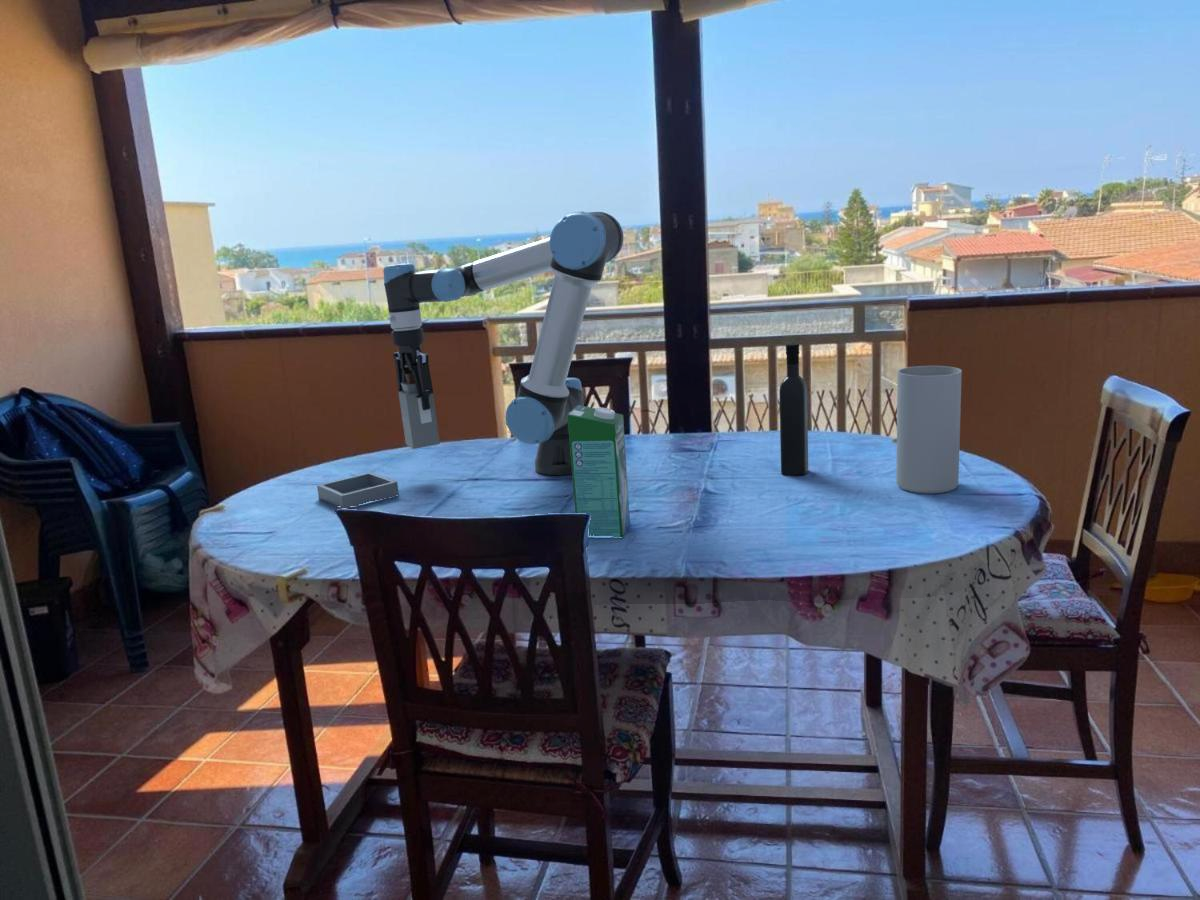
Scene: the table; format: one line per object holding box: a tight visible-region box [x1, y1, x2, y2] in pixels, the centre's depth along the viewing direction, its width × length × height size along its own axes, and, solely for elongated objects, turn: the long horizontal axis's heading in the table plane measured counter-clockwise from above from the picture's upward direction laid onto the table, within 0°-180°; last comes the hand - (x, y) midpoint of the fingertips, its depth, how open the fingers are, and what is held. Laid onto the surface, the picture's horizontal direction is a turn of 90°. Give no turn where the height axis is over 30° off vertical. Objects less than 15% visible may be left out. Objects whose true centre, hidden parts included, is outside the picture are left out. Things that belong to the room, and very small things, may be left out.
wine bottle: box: [778, 343, 809, 476], centre depth 207 cm, size 6×6×30 cm
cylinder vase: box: [895, 365, 963, 495], centre depth 190 cm, size 12×12×25 cm
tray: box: [316, 472, 400, 509], centre depth 215 cm, size 14×14×4 cm
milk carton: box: [568, 405, 631, 538], centre depth 177 cm, size 9×9×25 cm
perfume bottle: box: [398, 373, 440, 450], centre depth 224 cm, size 7×7×18 cm
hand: (419, 421), depth 225 cm, fingers closed on perfume bottle, 6 cm apart
